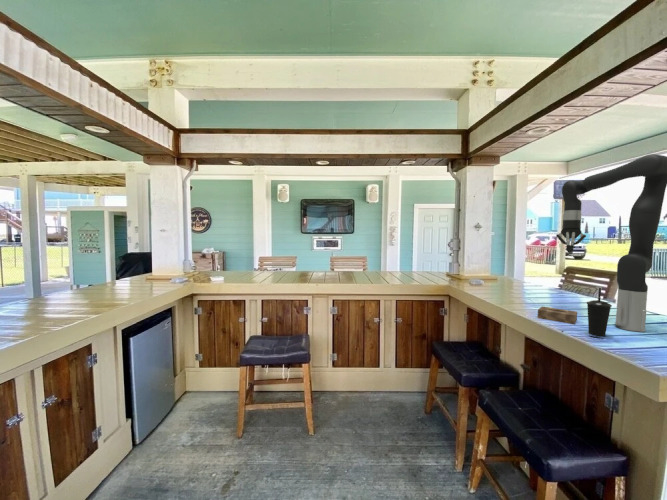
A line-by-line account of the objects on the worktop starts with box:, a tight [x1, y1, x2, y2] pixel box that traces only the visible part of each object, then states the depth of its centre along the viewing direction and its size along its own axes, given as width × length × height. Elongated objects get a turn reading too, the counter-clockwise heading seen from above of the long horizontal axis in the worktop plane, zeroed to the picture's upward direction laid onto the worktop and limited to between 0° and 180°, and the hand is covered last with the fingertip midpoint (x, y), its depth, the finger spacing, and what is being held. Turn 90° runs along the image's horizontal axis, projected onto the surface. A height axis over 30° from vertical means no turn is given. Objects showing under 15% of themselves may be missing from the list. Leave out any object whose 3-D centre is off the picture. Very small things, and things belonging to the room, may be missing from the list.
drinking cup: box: [586, 287, 613, 340], centre depth 122 cm, size 8×8×20 cm
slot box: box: [537, 305, 578, 325], centre depth 144 cm, size 14×10×5 cm
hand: (569, 252), depth 159 cm, fingers closed
